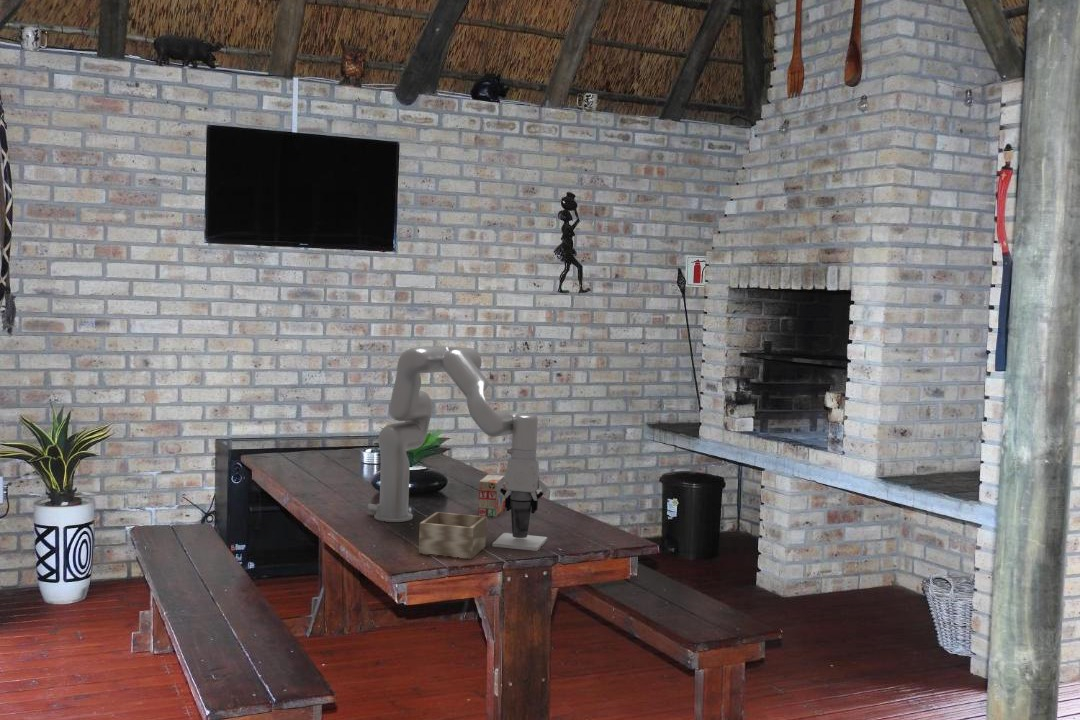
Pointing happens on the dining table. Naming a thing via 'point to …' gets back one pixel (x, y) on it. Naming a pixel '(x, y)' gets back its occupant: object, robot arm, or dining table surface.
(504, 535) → the tile
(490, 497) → the stack of blocks
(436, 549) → the crate
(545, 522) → the dining table surface
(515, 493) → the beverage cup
